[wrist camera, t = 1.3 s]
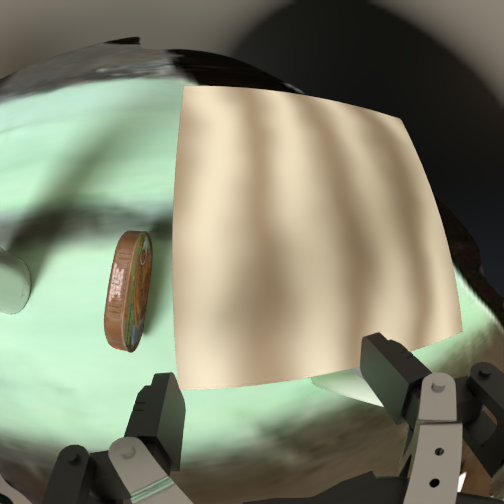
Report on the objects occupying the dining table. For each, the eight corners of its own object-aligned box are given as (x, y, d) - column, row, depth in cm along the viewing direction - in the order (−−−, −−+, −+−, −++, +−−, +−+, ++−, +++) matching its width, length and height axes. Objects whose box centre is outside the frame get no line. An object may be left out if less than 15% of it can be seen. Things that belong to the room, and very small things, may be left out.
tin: (141, 351, 33) (124, 355, 25) (119, 347, 32) (98, 349, 24) (156, 244, 37) (146, 220, 30) (135, 242, 37) (121, 217, 29)
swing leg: (255, 337, 36) (300, 335, 20) (271, 317, 37) (326, 299, 21) (323, 391, 35) (399, 415, 19) (337, 372, 36) (418, 382, 20)
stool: (190, 361, 33) (178, 390, 14) (186, 195, 41) (184, 85, 21) (353, 342, 38) (462, 331, 19) (330, 198, 45) (400, 119, 26)
